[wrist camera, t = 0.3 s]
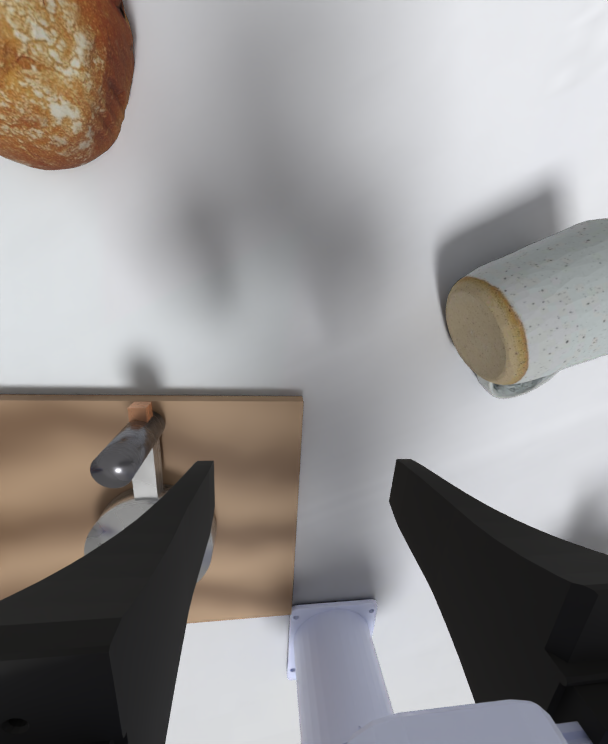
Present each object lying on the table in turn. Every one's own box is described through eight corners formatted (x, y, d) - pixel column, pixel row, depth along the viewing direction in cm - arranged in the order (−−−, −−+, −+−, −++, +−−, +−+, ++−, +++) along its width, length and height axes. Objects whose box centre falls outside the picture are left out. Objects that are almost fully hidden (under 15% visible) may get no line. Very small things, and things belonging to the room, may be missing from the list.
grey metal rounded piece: (218, 569, 24) (206, 641, 19) (107, 576, 23) (67, 654, 18) (211, 398, 20) (194, 437, 15) (76, 398, 19) (13, 439, 14)
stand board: (290, 602, 28) (293, 646, 25) (5, 625, 25) (-34, 678, 22) (301, 396, 22) (308, 417, 19) (-69, 393, 19) (-139, 418, 16)
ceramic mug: (425, 277, 20) (514, 281, 13) (540, 225, 20) (692, 202, 13) (460, 407, 24) (544, 467, 17) (557, 365, 24) (685, 406, 17)
